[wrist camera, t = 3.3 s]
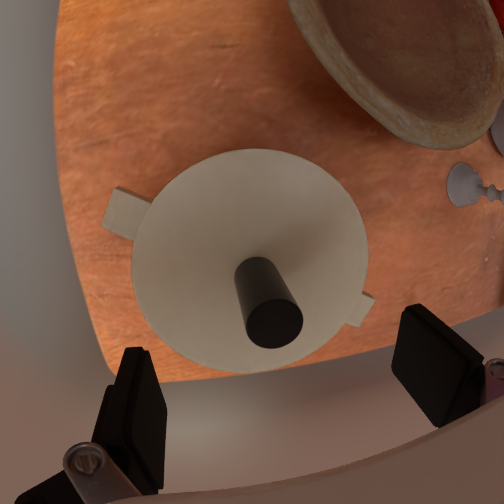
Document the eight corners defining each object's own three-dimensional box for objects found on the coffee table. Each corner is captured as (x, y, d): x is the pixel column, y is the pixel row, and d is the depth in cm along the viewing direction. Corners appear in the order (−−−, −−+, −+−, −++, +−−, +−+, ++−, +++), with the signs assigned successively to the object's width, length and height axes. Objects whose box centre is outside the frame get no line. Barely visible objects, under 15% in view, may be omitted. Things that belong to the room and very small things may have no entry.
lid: (193, 106, 15) (186, 83, 9) (395, 214, 18) (459, 243, 13) (109, 321, 18) (80, 385, 12) (294, 381, 22) (319, 444, 16)
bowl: (386, 196, 27) (440, 215, 20) (199, 7, 19) (198, -41, 12) (490, 69, 24) (538, 66, 16) (360, -82, 16) (392, -115, 9)
